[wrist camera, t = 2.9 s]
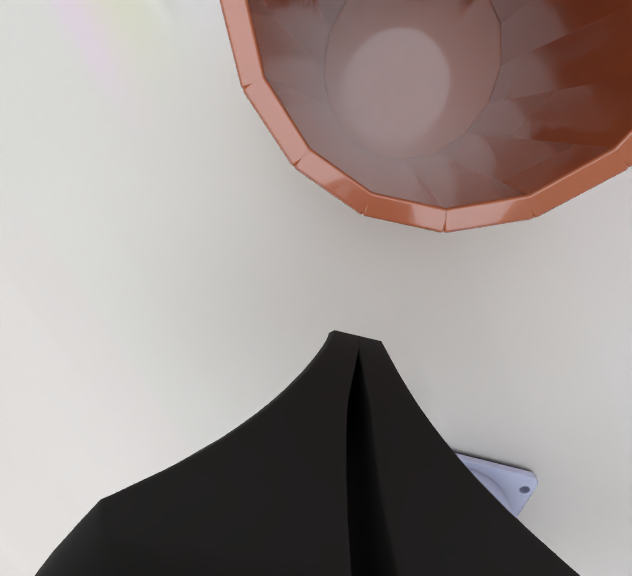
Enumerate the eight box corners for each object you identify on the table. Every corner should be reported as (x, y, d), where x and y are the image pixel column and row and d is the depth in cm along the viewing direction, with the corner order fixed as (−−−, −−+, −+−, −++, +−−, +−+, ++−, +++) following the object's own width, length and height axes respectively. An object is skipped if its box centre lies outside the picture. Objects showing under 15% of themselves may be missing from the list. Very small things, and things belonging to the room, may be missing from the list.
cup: (467, 182, 15) (614, 271, 6) (302, 147, 15) (201, 181, 6) (541, -29, 12) (1036, -476, 3) (336, -66, 13) (244, -568, 3)
